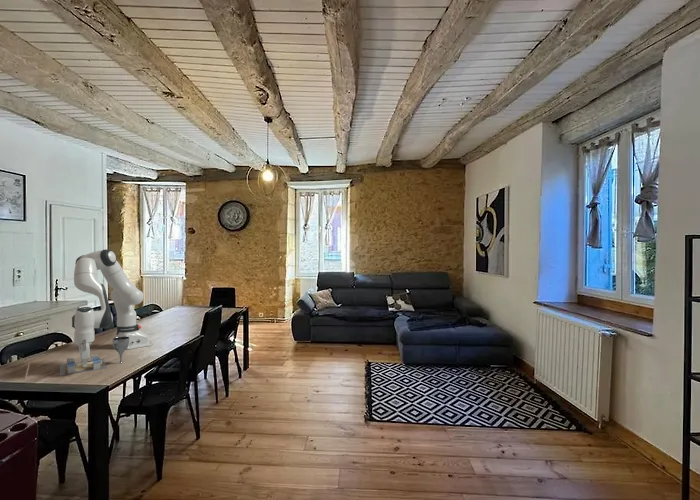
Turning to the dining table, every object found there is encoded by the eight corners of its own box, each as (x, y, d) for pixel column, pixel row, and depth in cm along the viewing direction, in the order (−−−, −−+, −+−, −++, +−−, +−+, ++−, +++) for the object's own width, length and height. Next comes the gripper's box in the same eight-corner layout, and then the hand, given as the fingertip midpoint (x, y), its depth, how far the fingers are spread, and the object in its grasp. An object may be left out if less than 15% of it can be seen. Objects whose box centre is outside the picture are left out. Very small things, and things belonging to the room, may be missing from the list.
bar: (101, 365, 204) (101, 360, 204) (102, 367, 202) (102, 361, 202) (64, 371, 195) (64, 365, 195) (64, 373, 192) (64, 367, 192)
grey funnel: (132, 363, 212) (132, 337, 212) (119, 367, 205) (119, 340, 205) (121, 361, 215) (122, 335, 215) (109, 365, 208) (109, 339, 208)
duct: (103, 360, 217) (103, 351, 217) (107, 370, 201) (107, 360, 201) (59, 366, 205) (60, 357, 205) (60, 377, 188) (60, 367, 188)
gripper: (93, 341, 192) (92, 368, 192) (90, 333, 208) (90, 358, 208) (77, 343, 188) (77, 370, 188) (76, 335, 204) (76, 360, 204)
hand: (84, 364), depth 198 cm, fingers open, 8 cm apart
